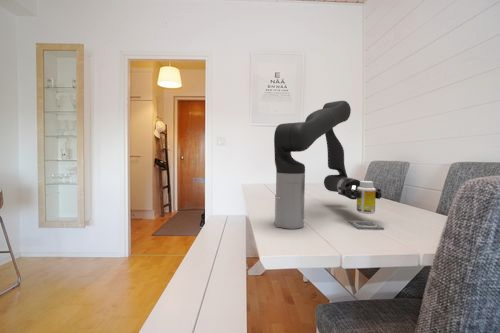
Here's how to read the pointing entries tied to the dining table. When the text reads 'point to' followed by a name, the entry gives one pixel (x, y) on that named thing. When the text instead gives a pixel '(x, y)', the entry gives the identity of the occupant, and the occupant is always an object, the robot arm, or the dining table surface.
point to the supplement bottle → (366, 198)
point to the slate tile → (366, 225)
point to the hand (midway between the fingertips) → (369, 195)
